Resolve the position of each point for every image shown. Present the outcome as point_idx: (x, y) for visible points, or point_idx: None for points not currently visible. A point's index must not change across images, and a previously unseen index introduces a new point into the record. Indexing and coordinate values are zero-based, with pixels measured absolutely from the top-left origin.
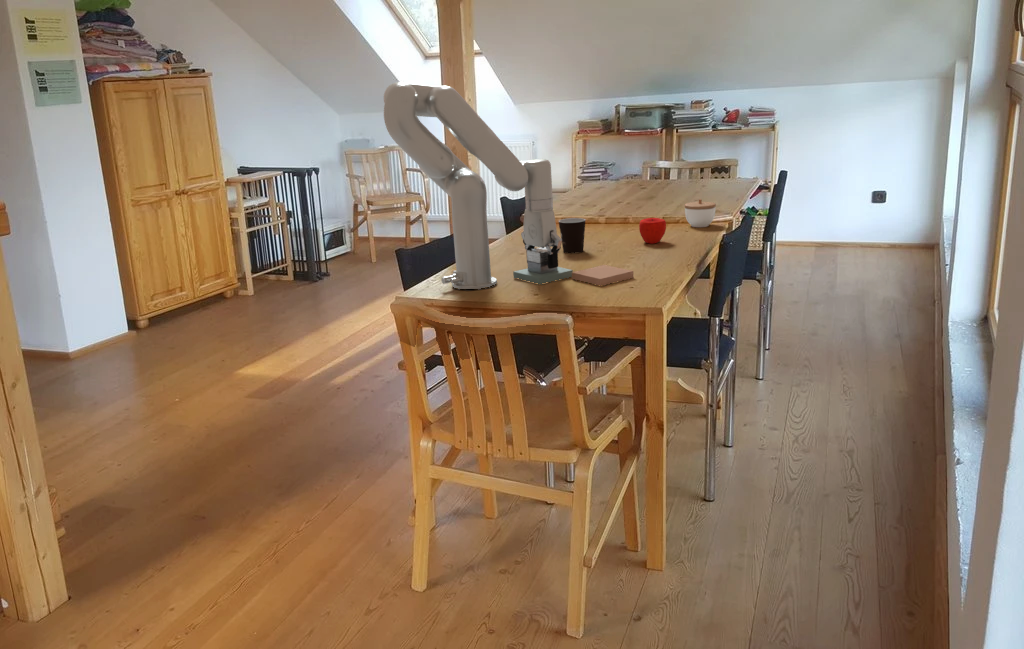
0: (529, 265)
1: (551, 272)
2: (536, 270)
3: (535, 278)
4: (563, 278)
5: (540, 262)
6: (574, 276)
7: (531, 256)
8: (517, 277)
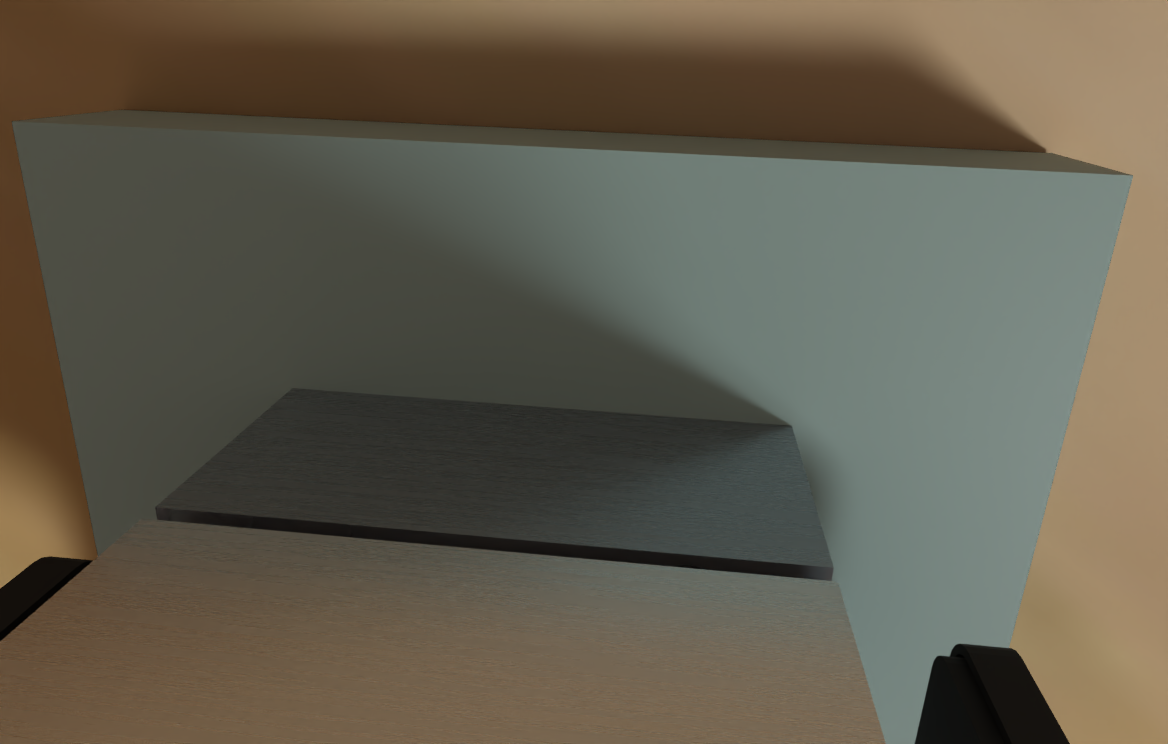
0: (723, 495)
1: None
2: (426, 426)
3: (165, 126)
4: None
5: (121, 541)
6: None
7: (556, 673)
8: (901, 151)
